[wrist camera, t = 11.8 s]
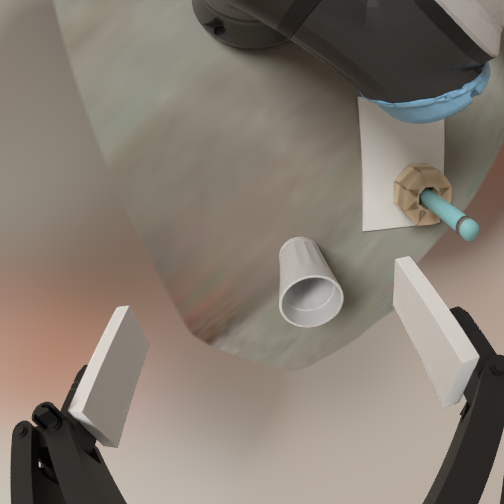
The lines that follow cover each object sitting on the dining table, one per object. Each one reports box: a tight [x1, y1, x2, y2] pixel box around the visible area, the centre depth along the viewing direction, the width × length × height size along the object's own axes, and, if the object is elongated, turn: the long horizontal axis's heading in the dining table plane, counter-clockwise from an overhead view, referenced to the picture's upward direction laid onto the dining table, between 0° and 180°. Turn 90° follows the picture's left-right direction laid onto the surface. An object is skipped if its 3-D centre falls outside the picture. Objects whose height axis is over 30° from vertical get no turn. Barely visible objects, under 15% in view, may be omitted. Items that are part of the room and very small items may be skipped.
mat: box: [357, 97, 444, 231], centre depth 41 cm, size 20×14×1 cm
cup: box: [279, 237, 344, 327], centre depth 43 cm, size 8×8×12 cm
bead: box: [393, 163, 452, 226], centre depth 41 cm, size 8×8×4 cm
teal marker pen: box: [419, 187, 479, 241], centre depth 36 cm, size 2×2×15 cm
